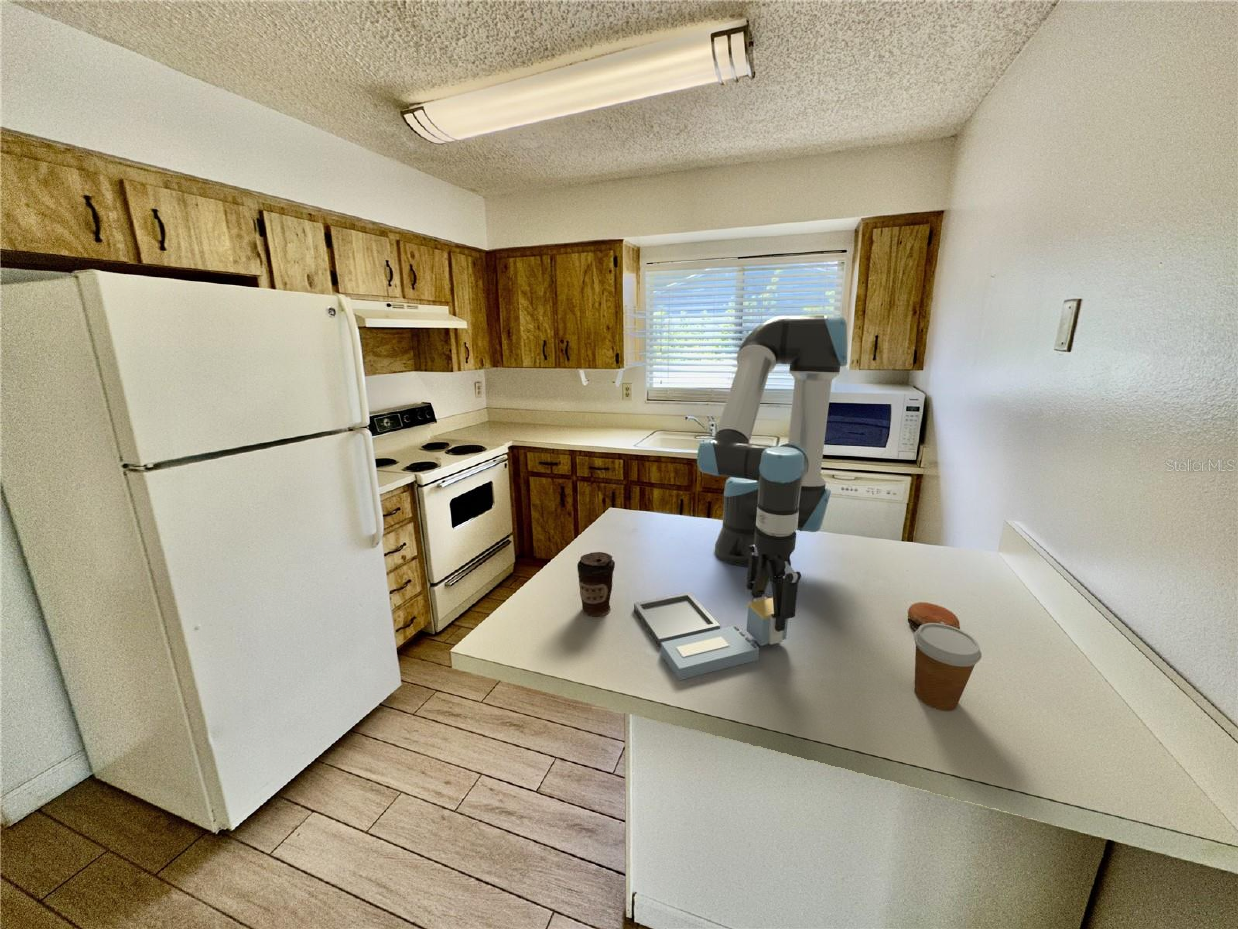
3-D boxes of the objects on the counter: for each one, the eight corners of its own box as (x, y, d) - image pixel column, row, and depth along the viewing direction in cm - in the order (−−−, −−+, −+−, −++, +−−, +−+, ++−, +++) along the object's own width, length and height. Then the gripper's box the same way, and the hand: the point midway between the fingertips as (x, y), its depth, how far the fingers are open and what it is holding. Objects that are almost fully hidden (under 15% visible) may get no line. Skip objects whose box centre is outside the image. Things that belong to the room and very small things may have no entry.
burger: (933, 614, 108) (936, 596, 107) (969, 640, 99) (974, 620, 98) (894, 619, 106) (897, 601, 105) (928, 646, 98) (932, 626, 96)
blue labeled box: (735, 635, 101) (736, 624, 100) (758, 659, 93) (759, 647, 93) (660, 653, 95) (661, 641, 94) (678, 680, 88) (679, 667, 87)
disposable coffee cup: (892, 680, 88) (902, 622, 85) (941, 677, 89) (953, 620, 85) (928, 720, 79) (941, 658, 75) (983, 717, 79) (998, 654, 76)
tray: (688, 598, 114) (689, 592, 114) (719, 632, 102) (720, 625, 101) (633, 610, 110) (634, 603, 109) (658, 646, 97) (659, 639, 97)
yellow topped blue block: (770, 624, 102) (773, 597, 100) (786, 638, 97) (789, 610, 95) (746, 630, 100) (748, 602, 98) (760, 645, 95) (763, 616, 93)
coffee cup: (610, 622, 105) (609, 569, 101) (573, 618, 107) (571, 565, 103) (618, 601, 113) (618, 551, 110) (584, 597, 115) (582, 547, 111)
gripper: (732, 514, 98) (726, 612, 105) (790, 552, 82) (778, 666, 89) (763, 509, 101) (755, 606, 108) (825, 545, 85) (812, 657, 91)
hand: (766, 633), depth 98 cm, fingers closed on yellow topped blue block, 5 cm apart
